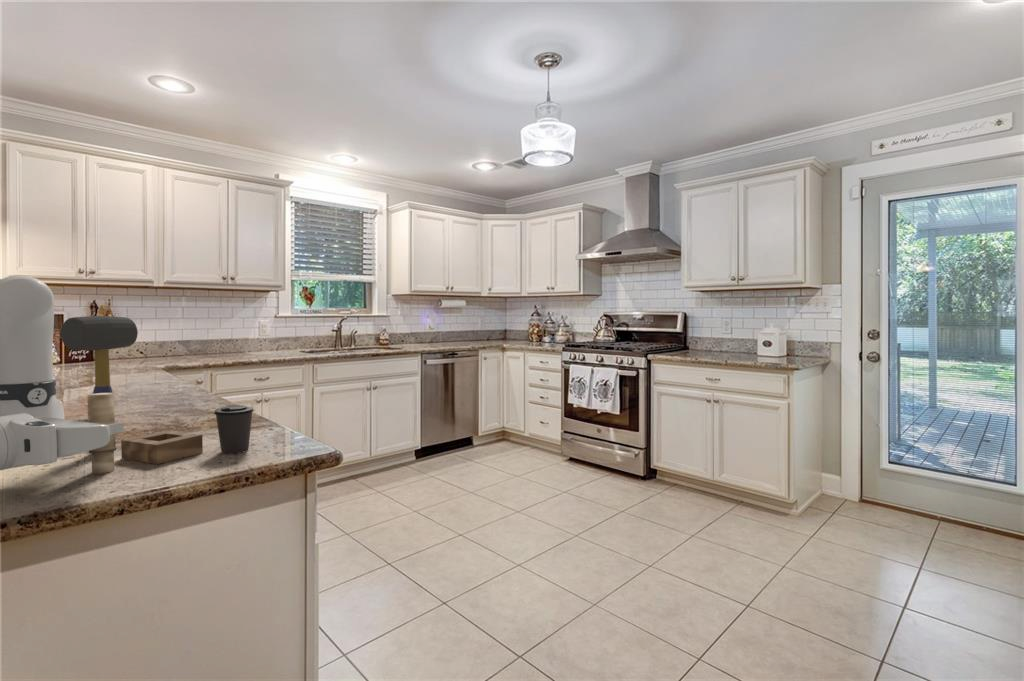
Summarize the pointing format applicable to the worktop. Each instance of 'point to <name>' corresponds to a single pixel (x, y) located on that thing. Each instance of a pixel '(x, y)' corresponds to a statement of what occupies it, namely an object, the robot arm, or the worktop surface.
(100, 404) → the beech peg
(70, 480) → the worktop surface
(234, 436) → the coffee cup
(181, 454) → the walnut socket board
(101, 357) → the rubber mallet
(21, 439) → the robot arm
